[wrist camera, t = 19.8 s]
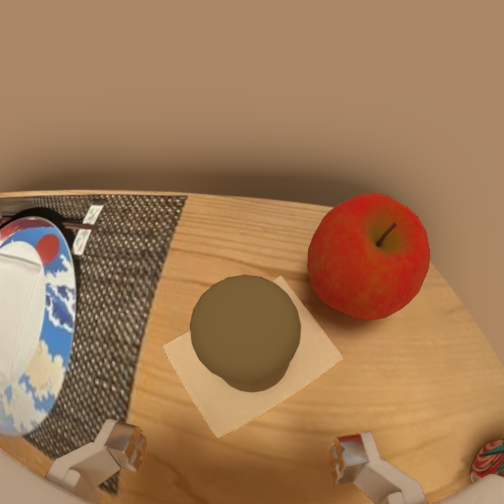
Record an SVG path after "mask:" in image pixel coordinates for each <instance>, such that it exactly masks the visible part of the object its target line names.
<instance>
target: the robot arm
mask: <svg viewBox="0 0 504 504" xmlns="http://www.w3.org/2000/svg"><path fill="white" fill-rule="evenodd" d="M141 432H142V430H141V428H140V427H139V426H135V425H131V424H127V423H123V422H120V421H116V420H113V419H107V420H106V421H105V423H104V425H103V427H102V428H101V430H100V432H99V434H98V436H97V437H96V439H95V441H94V443H92V442H90V443H88V444H86V445H84V446H82V447H80V448H78V449H76V450H74V451H72V452H70V453H68V454H66V455H64V456H62V457H60V458H58V459H56V460H55V461H54V462H53V464H52V466H51V467H50V469H49V471H48V472H47V474H46V476H45V478H43V477H41V476H40V475H38V474H37V473H35V472H33V471H32V470H30V469H29V468H27V467H26V466H24V465H23V464H21V463H20V462H18V461H17V460H16V459H14V458H13V457H12V456H10V455H9V454H8V453H6V452H5V451H4V450H2V449H1V448H0V504H100V502H101V499H102V495H101V494H100V493H99V492H98V491H97V490H96V489H95V487H97V486H98V485H99V484H101V483H102V482H104V481H105V480H106V479H108V478H109V477H111V476H112V475H113V474H115V473H116V472H117V471H119V470H120V469H121V468H123V469H126V470H130V471H134V472H138V470H139V467H140V465H141V462H142V461H141V459H140V457H141V456H143V455H144V454H145V452H146V447H147V442H146V438H145V437H144V436H143V435H142V434H141ZM330 464H331V466H333V467H334V470H333V472H332V475H333V480H334V485H336V484H343V483H350V482H353V483H354V484H355V485H356V486H357V487H358V488H359V489H360V490H361V491H362V492H363V493H364V494H365V495H366V496H367V497H369V498H370V499H371V500H372V501H373V502H374V503H375V504H428V503H427V500H426V497H425V495H424V492H423V489H422V486H421V484H420V483H419V482H417V481H416V480H414V479H413V478H411V477H410V476H408V475H407V474H405V473H404V472H402V471H401V470H399V469H398V468H396V467H395V466H393V465H392V464H391V463H389V462H388V461H386V460H385V459H382V460H381V458H380V455H379V452H378V449H377V446H376V443H375V440H374V437H373V435H372V433H371V432H370V431H368V432H363V433H356V434H349V435H343V436H336V437H335V439H334V445H333V446H331V450H330ZM433 504H504V477H501V476H498V475H495V474H489V475H486V476H485V477H483V478H481V479H480V480H478V481H476V482H474V483H473V484H471V485H469V486H467V487H466V488H464V489H462V490H460V491H458V492H456V493H454V494H452V495H450V496H448V497H446V498H444V499H442V500H439V501H437V502H435V503H433Z"/></svg>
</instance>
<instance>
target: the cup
mask: <svg viewBox="0 0 504 504" xmlns="http://www.w3.org/2000/svg"><path fill="white" fill-rule="evenodd" d="M489 474H495V475H498V476H501V477H504V439H503V440H498V441H493V442H489V443H488V444H486V445H485V446H484V447H483V448H482V449H481V450H480V451H479V453H478V454H477V456H476V457H475V459H474V462H473V464H472V467H471V471H470V479H471V481H472V482H473V483H474V482H476V481H478V480H480V479H481V478H483V477H485V476H486V475H489Z"/></svg>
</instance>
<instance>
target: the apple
mask: <svg viewBox="0 0 504 504" xmlns="http://www.w3.org/2000/svg"><path fill="white" fill-rule="evenodd" d="M429 262H430V249H429V244H428V238H427V233H426V230H425V228H424V227H423V225H422V223H421V221H420V220H419V218H418V216H417V215H416V214H415V213H413V212H412V211H411V210H410V209H409V208H408V207H406V206H405V205H403V204H401V203H400V202H398V201H396V200H394V199H393V198H391V197H389V196H387V195H382V194H377V193H368V194H363V195H358V196H355V197H353V198H351V199H349V200H347V201H345V202H342V203H341V204H339V205H338V206H336V207H335V208H333V209H332V210H330V211H329V213H328V214H327V215H326V216H325V217H324V218H323V219H322V221H321V223H320V225H319V226H318V228H317V230H316V232H315V233H314V235H313V238H312V240H311V243H310V246H309V249H308V263H307V268H308V273H309V278H310V282H311V286H312V287H313V289H314V291H315V293H316V295H317V296H318V297H319V298H320V299H321V300H322V301H323V302H325V303H326V304H327V305H328V306H330V307H332V308H334V309H336V310H339V311H341V312H343V313H345V314H347V315H349V316H352V317H355V318H359V319H362V320H373V319H381V318H386V317H388V316H389V315H391V314H393V313H395V312H397V311H399V310H400V309H402V308H403V307H404V306H406V305H407V304H408V303H409V302H410V301H411V300H412V299H413V298H414V297H415V296H416V295H417V293H418V292H419V290H420V288H421V286H422V284H423V281H424V279H425V277H426V274H427V272H428V269H429Z"/></svg>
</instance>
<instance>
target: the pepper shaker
mask: <svg viewBox="0 0 504 504" xmlns="http://www.w3.org/2000/svg"><path fill="white" fill-rule="evenodd" d="M190 333H191V342H192V346H193V348H194V350H195V353H196V355H197V357H198V359H199V360H200V361H201V363H202V364H203V365H204V366H205V367H206V368H207V369H208V370H209V371H210V372H211V373H213V374H215V375H217V376H219V377H221V378H222V379H223V380H224V381H225V382H226V383H227V384H228V385H229V386H231V387H233V388H235V389H237V390H239V391H244V392H251V393H254V392H260V391H265V390H267V389H269V388H271V387H273V386H275V385H276V384H277V383H278V382H279V381H280V380H281V379H282V378H283V377H284V375H285V373H286V371H287V369H288V367H289V362H290V361H291V360H292V359H293V357H294V355H295V353H296V350H297V348H298V346H299V344H300V336H301V322H300V318H299V314H298V310H297V308H296V306H295V305H294V303H293V301H292V300H291V298H290V296H289V295H288V294H287V293H286V292H285V291H284V290H283V289H282V288H280V287H279V286H278V285H277V284H276V283H274V282H271V281H269V280H267V279H264V278H262V277H258V276H250V275H241V276H234V277H228V278H226V279H224V280H222V281H220V282H218V283H216V284H214V285H213V286H211V287H210V288H209V289H208V290H207V291H206V292H205V293H204V294H203V295H202V296H201V297H200V299H199V301H198V302H197V304H196V306H195V307H194V309H193V313H192V318H191V322H190Z"/></svg>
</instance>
